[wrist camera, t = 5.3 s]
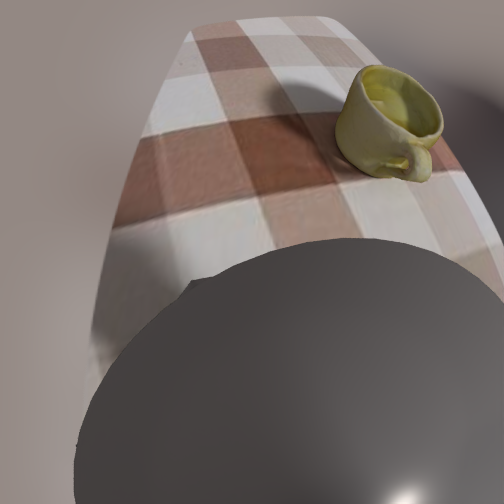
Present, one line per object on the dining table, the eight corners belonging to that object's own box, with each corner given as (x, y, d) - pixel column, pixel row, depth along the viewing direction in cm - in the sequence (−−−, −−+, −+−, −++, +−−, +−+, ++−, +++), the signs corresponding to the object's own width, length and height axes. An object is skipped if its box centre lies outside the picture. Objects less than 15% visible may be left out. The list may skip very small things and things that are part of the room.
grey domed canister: (317, 331, 16) (487, 208, 4) (345, 452, 13) (532, 533, 1) (185, 359, 15) (35, 291, 3) (214, 483, 12) (175, 665, 1)
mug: (319, 88, 30) (373, 36, 20) (388, 128, 33) (447, 93, 23) (304, 183, 27) (377, 137, 18) (386, 219, 30) (461, 195, 21)
